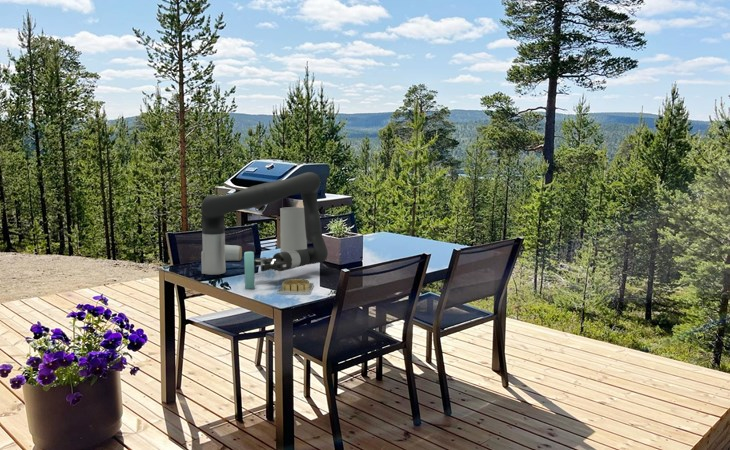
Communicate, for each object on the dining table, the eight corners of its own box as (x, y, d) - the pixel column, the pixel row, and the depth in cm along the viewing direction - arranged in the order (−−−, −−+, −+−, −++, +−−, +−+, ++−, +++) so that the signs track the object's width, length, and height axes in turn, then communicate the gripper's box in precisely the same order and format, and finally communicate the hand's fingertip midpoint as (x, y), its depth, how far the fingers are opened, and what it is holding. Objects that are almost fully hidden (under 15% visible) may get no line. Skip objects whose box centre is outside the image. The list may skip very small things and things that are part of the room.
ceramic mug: (241, 262, 256) (240, 246, 255) (223, 262, 255) (222, 246, 254) (242, 257, 266) (242, 242, 265) (225, 258, 265) (225, 242, 264)
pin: (244, 289, 208) (243, 253, 206) (246, 286, 212) (245, 251, 210) (253, 289, 208) (252, 253, 206) (255, 286, 212) (254, 251, 210)
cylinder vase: (291, 256, 270) (291, 206, 266) (312, 259, 263) (312, 208, 260) (275, 261, 259) (274, 208, 255) (296, 264, 253) (296, 210, 249)
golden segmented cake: (277, 293, 202) (277, 286, 202) (283, 285, 215) (283, 277, 215) (309, 294, 202) (309, 286, 202) (313, 285, 215) (313, 278, 214)
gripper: (275, 249, 227) (243, 254, 215) (298, 254, 217) (266, 259, 205) (275, 266, 228) (243, 273, 216) (298, 272, 219) (266, 279, 206)
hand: (254, 266), depth 211 cm, fingers open, 8 cm apart
